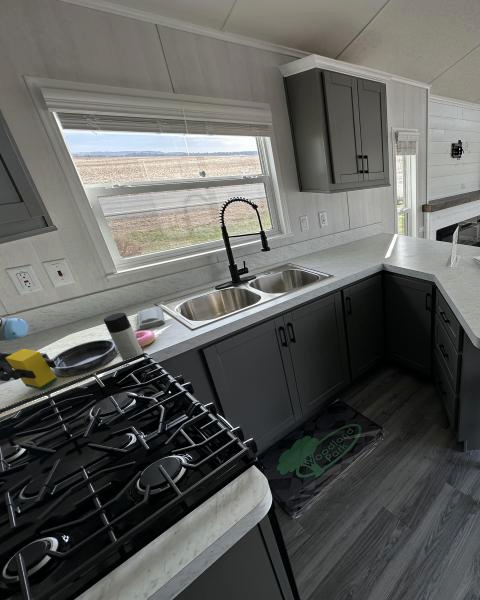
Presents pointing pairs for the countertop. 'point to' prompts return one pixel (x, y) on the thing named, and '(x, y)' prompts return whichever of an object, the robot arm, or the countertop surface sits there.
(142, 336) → the doughnut
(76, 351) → the bowl
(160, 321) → the soap mold
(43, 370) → the sponge
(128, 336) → the spray can
